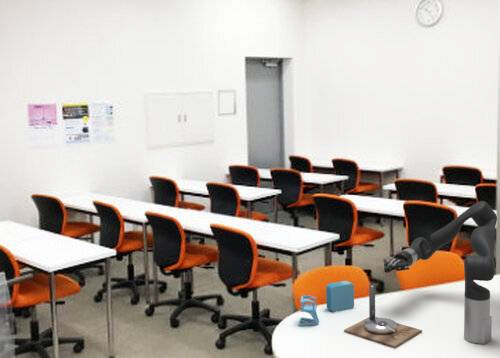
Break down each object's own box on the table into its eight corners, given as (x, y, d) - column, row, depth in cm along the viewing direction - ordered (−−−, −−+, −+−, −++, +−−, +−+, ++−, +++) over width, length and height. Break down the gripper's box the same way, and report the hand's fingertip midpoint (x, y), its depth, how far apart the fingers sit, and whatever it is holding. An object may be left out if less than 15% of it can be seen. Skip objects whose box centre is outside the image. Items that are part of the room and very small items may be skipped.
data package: (349, 305, 269) (348, 280, 268) (354, 308, 265) (354, 282, 264) (326, 309, 265) (325, 284, 263) (331, 312, 261) (330, 287, 259)
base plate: (422, 332, 236) (422, 329, 236) (395, 348, 222) (395, 345, 222) (372, 317, 253) (371, 315, 253) (344, 332, 239) (344, 329, 239)
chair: (318, 327, 246) (317, 299, 244) (298, 326, 247) (297, 299, 246) (319, 320, 253) (319, 293, 251) (300, 319, 255) (299, 293, 253)
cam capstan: (408, 333, 232) (408, 294, 230) (380, 339, 228) (380, 300, 225) (383, 318, 248) (383, 282, 245) (357, 324, 243) (357, 287, 241)
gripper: (419, 269, 257) (400, 281, 245) (392, 264, 266) (372, 276, 254) (419, 252, 256) (399, 264, 243) (392, 248, 265) (371, 259, 252)
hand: (385, 270), depth 249 cm, fingers closed
